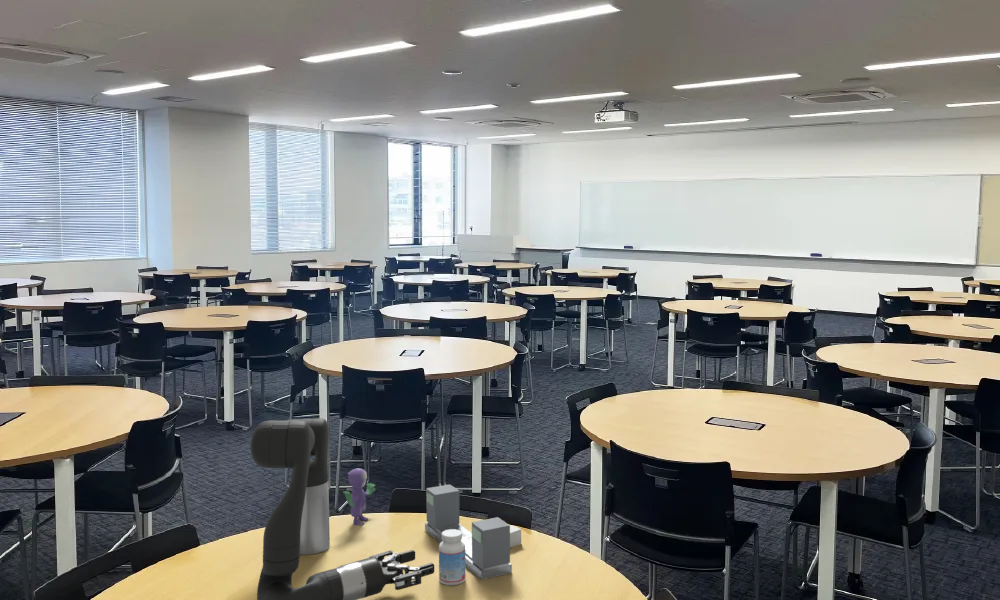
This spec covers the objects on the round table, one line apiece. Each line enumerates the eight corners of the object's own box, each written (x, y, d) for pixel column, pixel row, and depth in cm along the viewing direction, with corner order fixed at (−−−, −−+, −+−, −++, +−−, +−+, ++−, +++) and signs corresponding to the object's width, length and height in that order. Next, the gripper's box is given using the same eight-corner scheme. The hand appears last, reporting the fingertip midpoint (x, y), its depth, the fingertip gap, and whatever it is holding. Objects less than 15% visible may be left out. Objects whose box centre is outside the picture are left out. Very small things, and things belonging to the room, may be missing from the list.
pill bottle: (468, 584, 168) (468, 535, 167) (443, 588, 166) (442, 539, 165) (461, 573, 174) (460, 526, 173) (435, 577, 172) (435, 529, 171)
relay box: (504, 550, 187) (503, 535, 187) (493, 545, 190) (493, 530, 190) (521, 544, 191) (521, 529, 191) (510, 539, 194) (510, 524, 194)
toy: (354, 534, 197) (353, 479, 196) (334, 533, 198) (333, 478, 197) (379, 510, 215) (378, 459, 214) (361, 509, 216) (360, 458, 215)
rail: (481, 579, 170) (481, 569, 170) (425, 530, 200) (424, 521, 200) (511, 572, 174) (511, 562, 174) (451, 524, 204) (451, 516, 204)
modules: (482, 569, 170) (482, 531, 170) (425, 521, 200) (425, 488, 199) (509, 562, 174) (509, 525, 173) (450, 516, 204) (450, 484, 203)
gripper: (371, 575, 150) (440, 555, 159) (342, 551, 161) (408, 534, 171) (372, 611, 150) (440, 589, 160) (343, 585, 162) (408, 566, 171)
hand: (423, 561), depth 165 cm, fingers open, 8 cm apart
